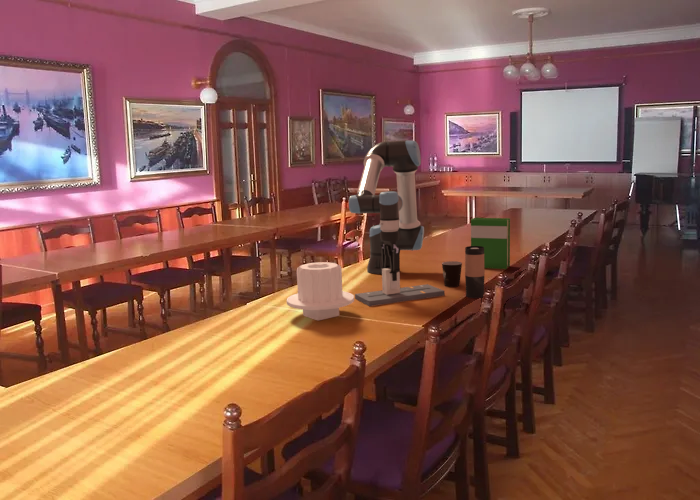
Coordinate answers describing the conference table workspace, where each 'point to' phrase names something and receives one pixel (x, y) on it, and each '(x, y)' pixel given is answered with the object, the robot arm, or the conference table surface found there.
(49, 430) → the conference table surface
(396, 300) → the fader console
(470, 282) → the travel mug
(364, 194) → the robot arm
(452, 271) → the coffee mug
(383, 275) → the fader tab
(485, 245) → the hardback book
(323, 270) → the ribbed cylinder on disc
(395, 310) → the conference table surface
